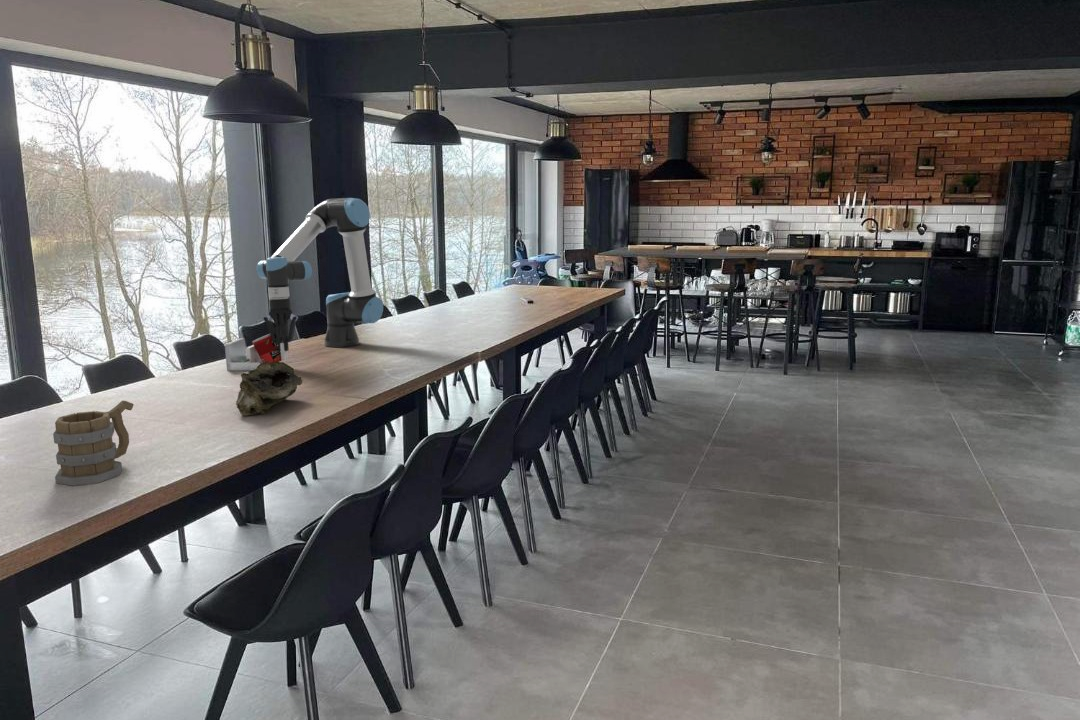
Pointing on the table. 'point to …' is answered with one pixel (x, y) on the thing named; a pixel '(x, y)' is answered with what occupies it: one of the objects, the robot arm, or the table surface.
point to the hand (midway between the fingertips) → (284, 359)
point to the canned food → (267, 349)
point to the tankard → (90, 445)
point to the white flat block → (252, 354)
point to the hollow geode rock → (266, 387)
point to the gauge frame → (238, 356)
